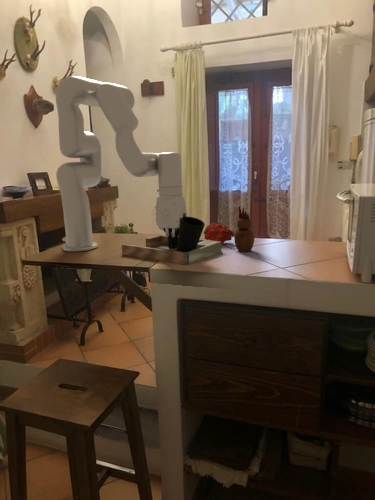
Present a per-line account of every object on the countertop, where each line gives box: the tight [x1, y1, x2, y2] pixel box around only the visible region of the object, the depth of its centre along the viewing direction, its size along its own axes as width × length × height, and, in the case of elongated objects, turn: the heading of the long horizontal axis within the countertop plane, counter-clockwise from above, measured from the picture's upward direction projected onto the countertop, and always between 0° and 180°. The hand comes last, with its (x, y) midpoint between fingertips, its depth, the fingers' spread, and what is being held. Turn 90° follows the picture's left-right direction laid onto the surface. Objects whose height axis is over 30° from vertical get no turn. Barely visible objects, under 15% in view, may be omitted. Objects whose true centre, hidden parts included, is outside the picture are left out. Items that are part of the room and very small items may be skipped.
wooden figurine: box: [233, 206, 255, 253], centre depth 132 cm, size 7×6×15 cm
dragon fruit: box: [203, 222, 235, 245], centre depth 145 cm, size 8×8×12 cm
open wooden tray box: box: [121, 234, 223, 266], centre depth 133 cm, size 28×20×4 cm
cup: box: [176, 216, 206, 253], centre depth 124 cm, size 8×8×12 cm
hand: (173, 248), depth 129 cm, fingers closed
